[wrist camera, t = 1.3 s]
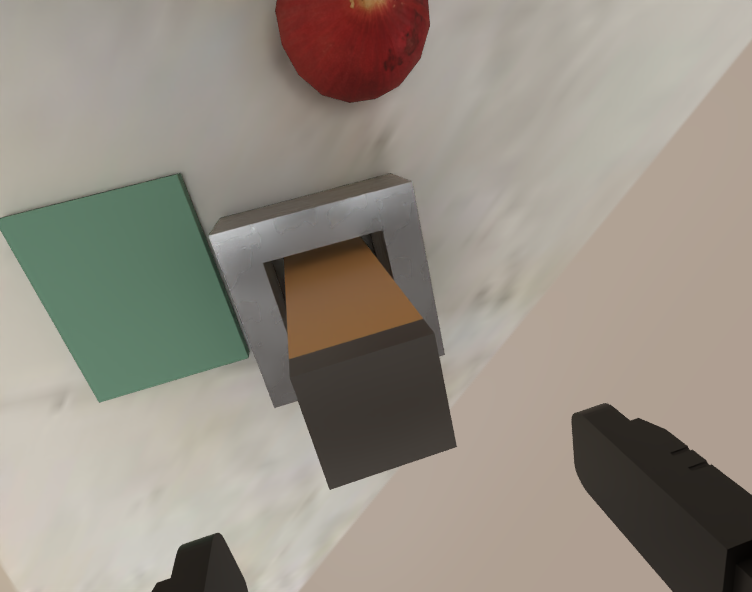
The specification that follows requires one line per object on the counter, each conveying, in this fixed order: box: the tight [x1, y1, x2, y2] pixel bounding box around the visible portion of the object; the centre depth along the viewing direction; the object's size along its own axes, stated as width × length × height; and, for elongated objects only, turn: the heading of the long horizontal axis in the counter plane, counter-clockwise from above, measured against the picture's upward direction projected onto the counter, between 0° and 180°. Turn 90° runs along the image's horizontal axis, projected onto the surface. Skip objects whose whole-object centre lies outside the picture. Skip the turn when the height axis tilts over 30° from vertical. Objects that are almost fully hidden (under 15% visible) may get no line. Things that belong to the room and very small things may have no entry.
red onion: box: [275, 0, 430, 103], centre depth 17 cm, size 6×6×8 cm
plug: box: [284, 236, 457, 490], centre depth 18 cm, size 4×4×13 cm
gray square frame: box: [208, 173, 445, 408], centre depth 23 cm, size 9×9×4 cm
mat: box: [0, 173, 249, 403], centre depth 22 cm, size 10×8×1 cm
